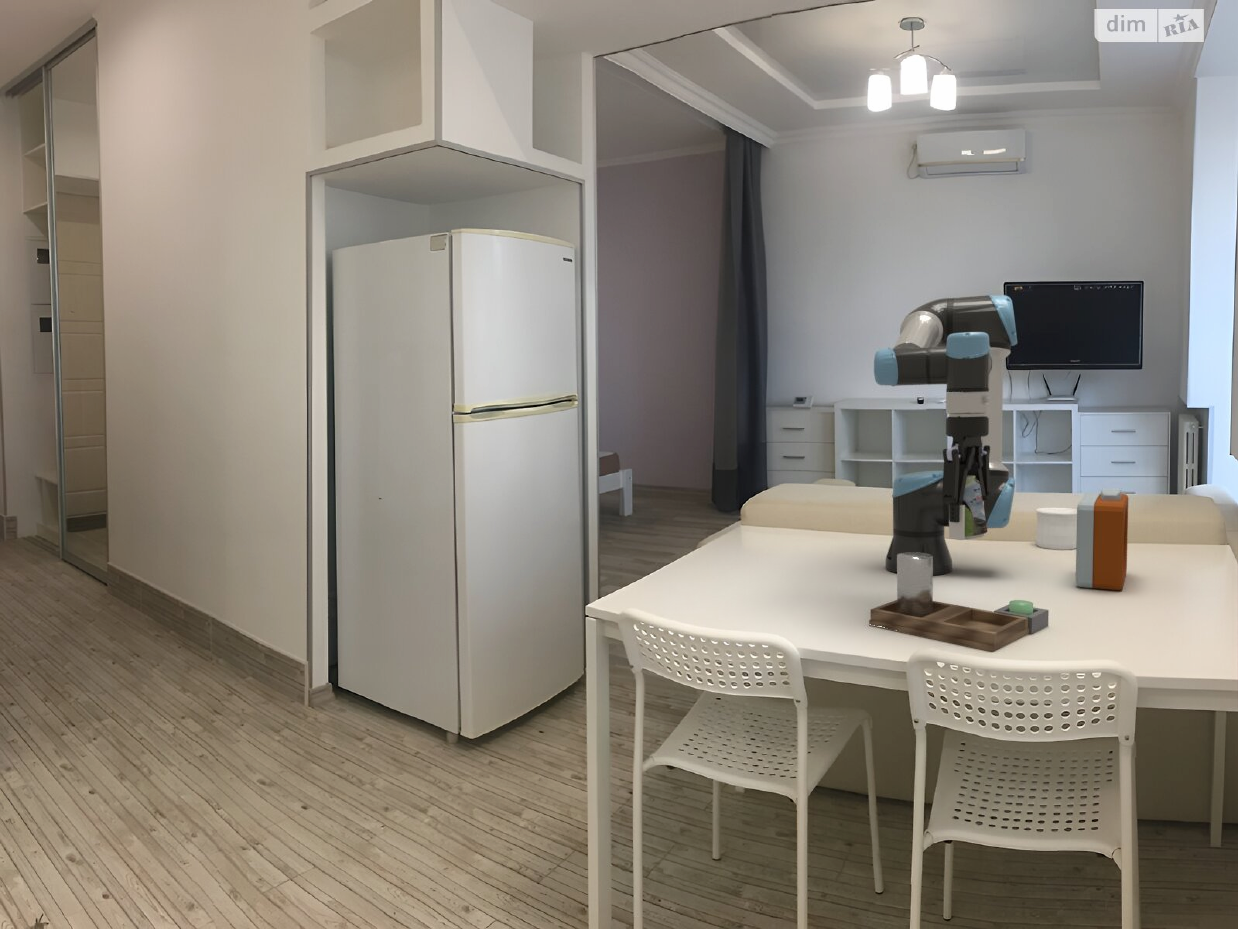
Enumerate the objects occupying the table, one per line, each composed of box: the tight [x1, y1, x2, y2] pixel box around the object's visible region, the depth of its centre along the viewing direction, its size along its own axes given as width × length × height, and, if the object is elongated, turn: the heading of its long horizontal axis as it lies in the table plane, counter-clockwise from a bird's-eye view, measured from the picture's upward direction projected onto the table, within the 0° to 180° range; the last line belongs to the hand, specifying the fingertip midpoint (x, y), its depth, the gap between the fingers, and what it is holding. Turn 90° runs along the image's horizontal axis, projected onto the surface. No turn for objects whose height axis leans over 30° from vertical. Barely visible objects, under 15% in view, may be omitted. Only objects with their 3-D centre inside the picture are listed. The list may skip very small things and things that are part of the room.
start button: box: [1008, 599, 1034, 615], centre depth 165 cm, size 4×4×4 cm
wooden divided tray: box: [868, 599, 1030, 653], centre depth 165 cm, size 24×14×3 cm, turn 42°
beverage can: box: [962, 475, 988, 540], centre depth 169 cm, size 6×7×12 cm
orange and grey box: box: [1075, 487, 1129, 592], centre depth 196 cm, size 18×9×21 cm, turn 148°
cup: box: [1035, 507, 1077, 551], centre depth 233 cm, size 10×10×10 cm
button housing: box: [993, 604, 1050, 635], centre depth 166 cm, size 7×7×3 cm
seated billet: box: [896, 552, 934, 618], centre depth 170 cm, size 6×6×12 cm
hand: (966, 536), depth 170 cm, fingers closed on beverage can, 7 cm apart
